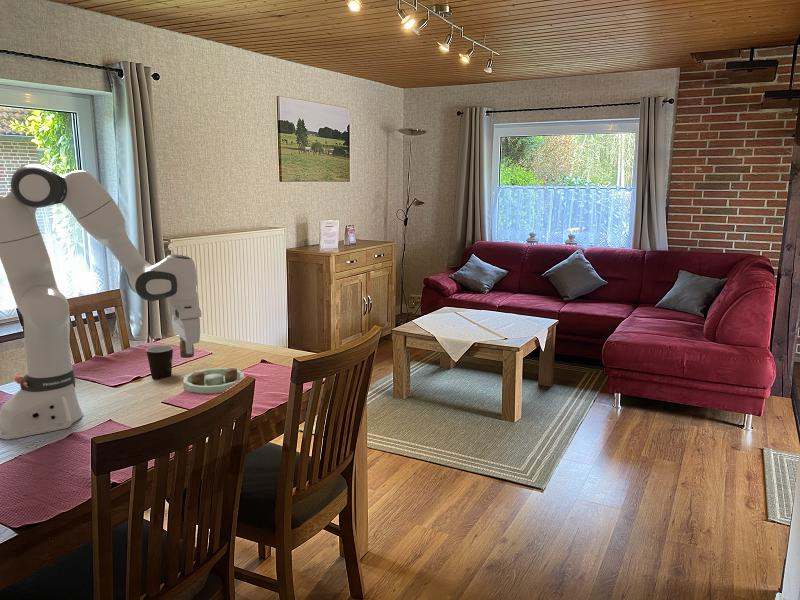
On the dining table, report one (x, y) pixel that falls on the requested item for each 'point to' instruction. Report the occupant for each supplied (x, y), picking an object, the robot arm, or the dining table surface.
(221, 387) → the tray
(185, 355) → the bead
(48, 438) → the dining table surface
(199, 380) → the bead
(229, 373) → the bead
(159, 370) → the coffee mug
